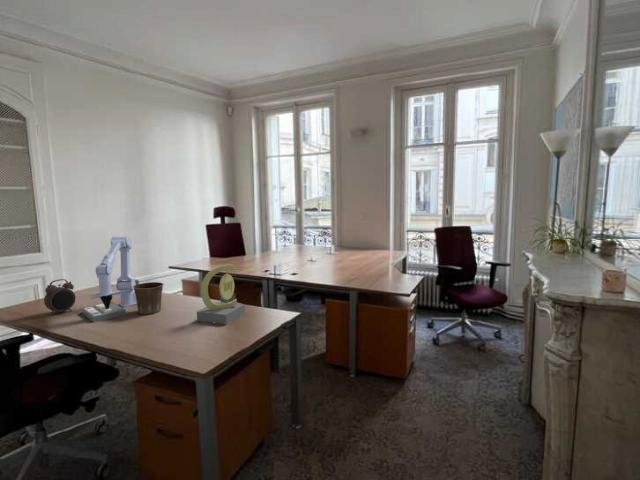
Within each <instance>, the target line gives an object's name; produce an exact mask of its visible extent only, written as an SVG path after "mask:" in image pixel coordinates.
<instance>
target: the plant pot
mask: <svg viewBox="0 0 640 480" xmlns="http://www.w3.org/2000/svg"><path fill="white" fill-rule="evenodd" d="M133 288H134V292H135V294H136V300H137V304H136V306H137V312H138V314H140V315H150V314H152V315H153V314H156V313H157V314H158V313H160V312H161V310H162V294H163V288H164V283H163V282H158V281H156V282H155V281H153V282H151V281H150V282H149V281H148V282H143V283H138V284H136V285H135V286H133Z"/></svg>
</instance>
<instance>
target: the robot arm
mask: <svg viewBox="0 0 640 480" xmlns="http://www.w3.org/2000/svg"><path fill="white" fill-rule="evenodd" d="M132 245H133V244H132V239H131V237H130V236H128V235H127V236H111V239H110V248H109V251H108V253H107V254H105V255H104V256H103V259H102V260H101V262H100V264H98V265H96V267H95V274H96V277H97V278H98V286H99V289H98V290H99V293H95V294H91V295H90V299H91V300H94V299H100V300H101V302H102V304H104V306H105V309H109V305H110V302H112V300H113V296H116V295H119V296H120V303H118V306H120V307H121V308H124V307H127V306H132V305H137V300H136V294H135V292H134V288H133V286H135V285H137V284H136V278H135V277H134V276H132V275H131V267H130V266H131V262H130V261H131V260H130V253H131V252H130V250H131V249H132ZM119 251H120V276H119V277H118V278H116V283H115V287H116V289H117V290H112V280H111V274H112V272H113V267H114V266H113V265H114V263H115V261H116V255H117V253H118V252H119Z"/></svg>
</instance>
